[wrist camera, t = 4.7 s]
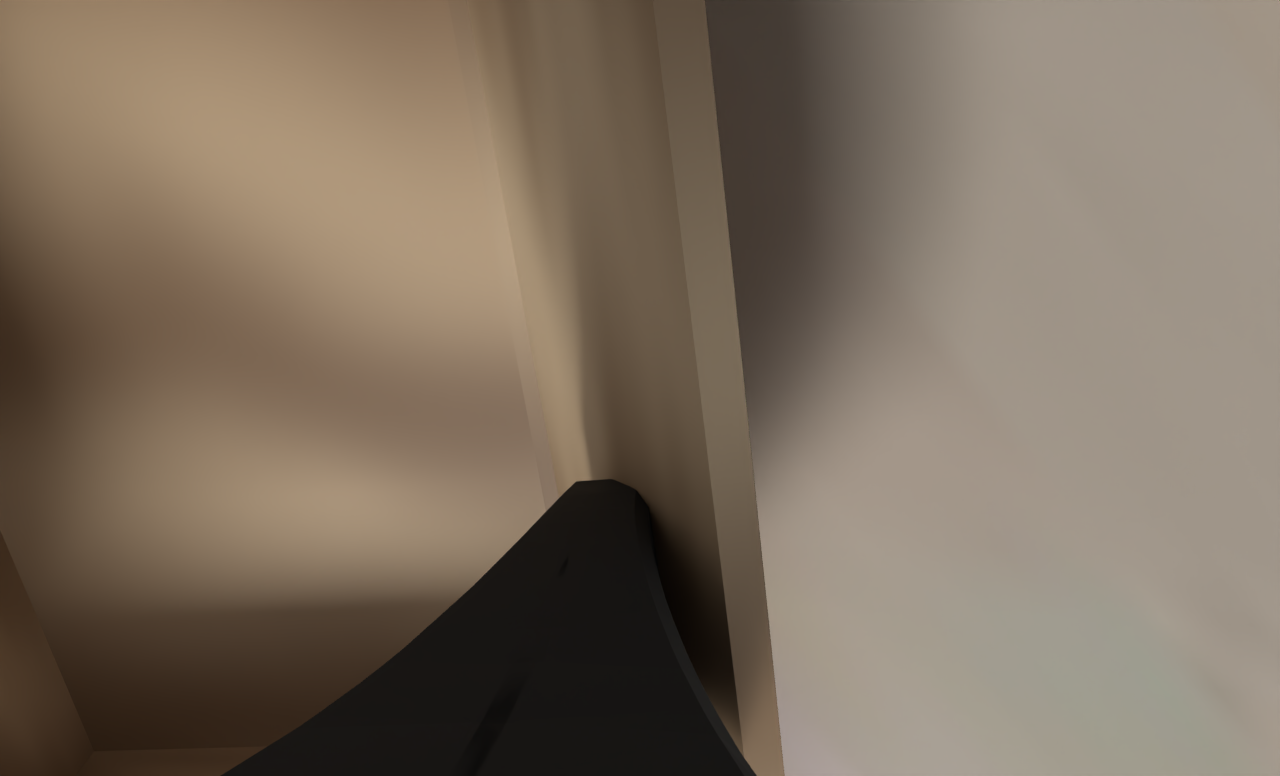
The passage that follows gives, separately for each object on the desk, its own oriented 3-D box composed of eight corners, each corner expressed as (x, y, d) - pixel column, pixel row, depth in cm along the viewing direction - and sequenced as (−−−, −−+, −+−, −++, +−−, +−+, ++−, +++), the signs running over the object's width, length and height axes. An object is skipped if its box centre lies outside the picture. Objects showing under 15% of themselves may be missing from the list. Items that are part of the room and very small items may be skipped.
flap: (671, 968, 16) (832, 1242, 12) (647, 980, 16) (804, 1261, 12) (459, -262, 10) (665, -389, 6) (418, -259, 9) (605, -387, 6)
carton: (689, 759, 20) (669, 979, 16) (93, 773, 22) (-58, 975, 18) (534, -297, 14) (435, -366, 10) (-304, -151, 16) (-686, -160, 11)
